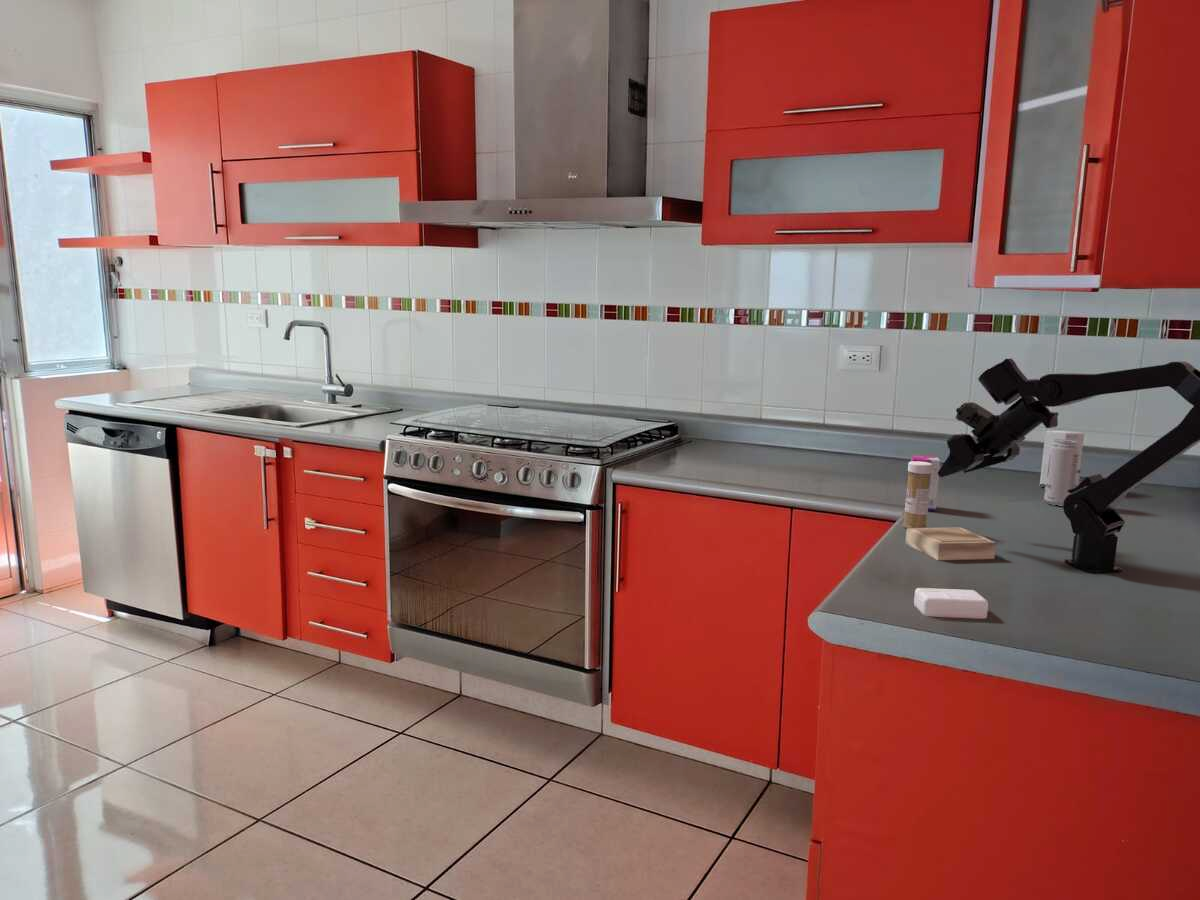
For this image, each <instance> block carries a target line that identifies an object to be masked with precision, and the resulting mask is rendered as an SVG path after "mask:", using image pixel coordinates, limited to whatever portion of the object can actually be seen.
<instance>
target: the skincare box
mask: <svg viewBox="0 0 1200 900" xmlns="http://www.w3.org/2000/svg"><path fill="white" fill-rule="evenodd" d="M1044 433H1045V434H1044V442H1043V451H1042V460H1041V468H1040V469H1041V470H1040V471H1041V472H1040V478H1039V479H1040V480H1039V485H1040V484H1045V485H1046V478H1047V469H1048V460H1049V451H1050V446H1051V445H1052V444H1053V442H1054V440H1056V439H1061V440H1072V441H1076V442H1077V446H1078V448H1079V455H1078V464H1077V473H1076V481H1075V485H1079V484H1080V477H1081V476H1080V474H1081V466H1082V465H1081V464H1082V457H1083V456H1082V455H1083V447H1084V446H1083V445H1084V438H1085V437H1084V436H1085V432H1080V431H1079V432H1077V431H1069V430H1046V431H1045V432H1044Z"/></svg>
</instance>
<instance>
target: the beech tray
mask: <svg viewBox="0 0 1200 900" xmlns="http://www.w3.org/2000/svg"><path fill="white" fill-rule="evenodd" d="M904 544H905V545H907V546H908V547H911V548H913V549H915V550H917V551H918V552H921V553H923V554H925V555H927V556H928V557H931V558H932V557H933V559H935V560H936V561H957V560H958V561H959V560H961V561H962V560H994V559H995V555H996V548H997V547H996V546H997V545H996V544H997V542H996V541H994V540H991V539H988V538H986V537H984V536H981V535H979V534H977V533H974V532H972V531H969V530H967V529H965V528H963V527H960V526H959V527H957V526H956V527H926V528H906V533H905V543H904Z"/></svg>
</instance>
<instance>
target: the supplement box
mask: <svg viewBox="0 0 1200 900" xmlns="http://www.w3.org/2000/svg"><path fill="white" fill-rule="evenodd" d="M911 461H921V462H928V463H931V464H932V473H931V476H930V492H929V502H928V512H937V507H938V506H937V505H938V494H939V493H938V492H939V483H940V481H939V480H940V477H939V475H938V471H939V470H940V468H941V460H940V459H939V458H938V456H925V455H911V457H910V462H911Z"/></svg>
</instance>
